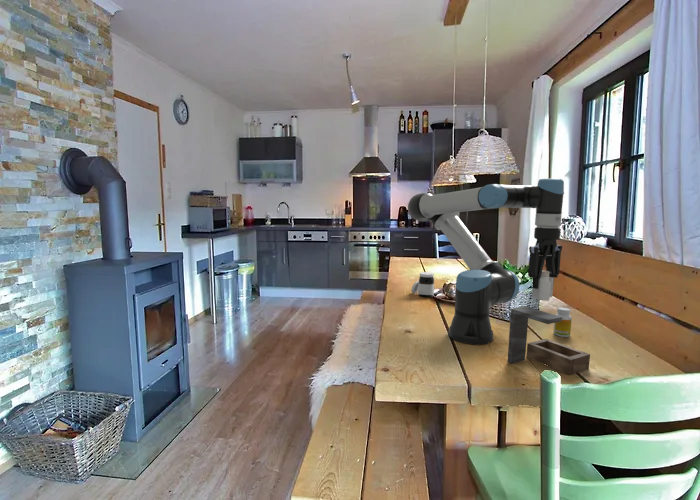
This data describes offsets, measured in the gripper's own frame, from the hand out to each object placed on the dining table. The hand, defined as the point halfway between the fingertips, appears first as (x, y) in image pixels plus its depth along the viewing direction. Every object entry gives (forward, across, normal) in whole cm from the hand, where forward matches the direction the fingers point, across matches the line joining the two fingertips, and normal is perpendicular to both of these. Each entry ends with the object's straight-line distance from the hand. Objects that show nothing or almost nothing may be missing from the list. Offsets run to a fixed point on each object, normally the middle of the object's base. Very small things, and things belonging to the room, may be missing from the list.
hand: (542, 296), depth 130 cm
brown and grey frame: (+17, -12, -12) cm, 24 cm away
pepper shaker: (+1, 0, 0) cm, 1 cm away
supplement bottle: (+17, +17, +3) cm, 24 cm away
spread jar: (+17, +8, +72) cm, 74 cm away
